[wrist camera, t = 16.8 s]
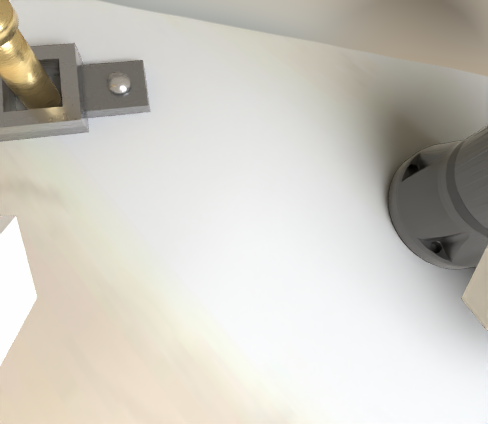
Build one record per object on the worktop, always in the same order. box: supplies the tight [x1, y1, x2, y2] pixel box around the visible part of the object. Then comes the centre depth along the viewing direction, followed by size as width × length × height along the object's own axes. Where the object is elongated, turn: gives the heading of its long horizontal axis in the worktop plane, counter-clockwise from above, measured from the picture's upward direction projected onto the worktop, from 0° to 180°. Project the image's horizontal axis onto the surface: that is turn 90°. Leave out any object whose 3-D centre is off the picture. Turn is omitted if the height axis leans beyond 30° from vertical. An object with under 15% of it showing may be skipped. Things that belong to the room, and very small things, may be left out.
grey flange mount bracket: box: [0, 43, 150, 141], centre depth 43 cm, size 24×10×4 cm, turn 100°
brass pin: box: [0, 0, 61, 110], centre depth 38 cm, size 5×5×14 cm
